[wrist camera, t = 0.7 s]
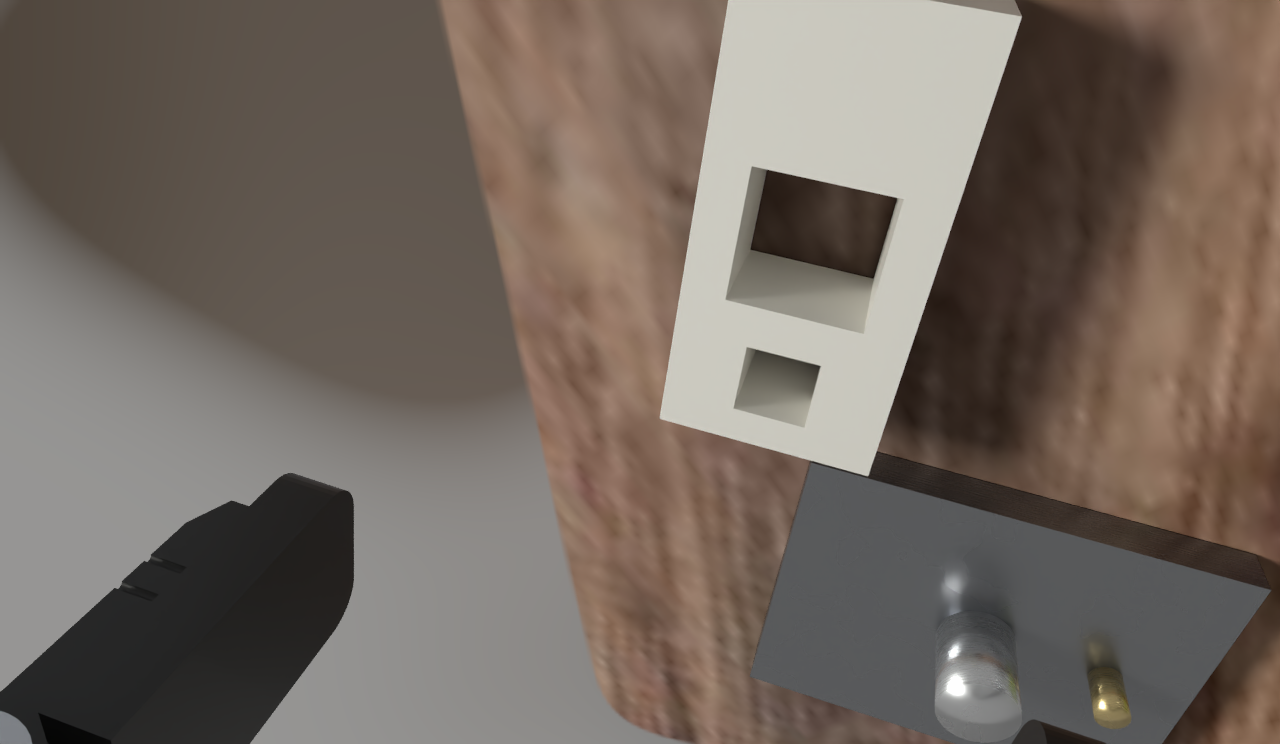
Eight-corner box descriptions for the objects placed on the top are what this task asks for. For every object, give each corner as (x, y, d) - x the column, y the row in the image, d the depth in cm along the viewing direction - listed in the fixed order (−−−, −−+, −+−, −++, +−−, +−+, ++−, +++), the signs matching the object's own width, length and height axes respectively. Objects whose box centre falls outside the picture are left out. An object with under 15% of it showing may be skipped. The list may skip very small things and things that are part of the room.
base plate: (1255, 554, 26) (1307, 672, 22) (1116, 760, 31) (1138, 883, 27) (817, 435, 28) (797, 524, 25) (757, 646, 34) (733, 744, 30)
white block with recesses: (762, -50, 22) (734, -35, 19) (1011, -6, 21) (1022, 16, 18) (689, 361, 28) (659, 418, 25) (876, 410, 27) (868, 476, 24)
